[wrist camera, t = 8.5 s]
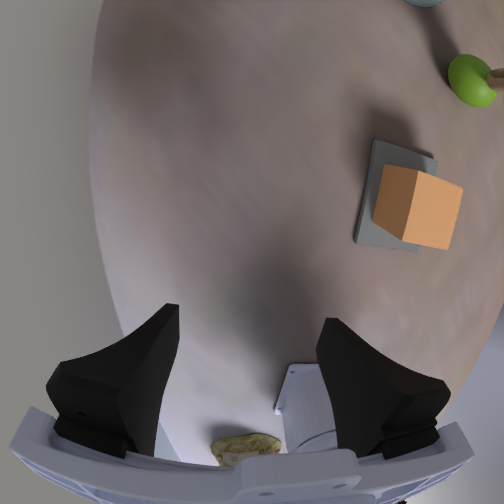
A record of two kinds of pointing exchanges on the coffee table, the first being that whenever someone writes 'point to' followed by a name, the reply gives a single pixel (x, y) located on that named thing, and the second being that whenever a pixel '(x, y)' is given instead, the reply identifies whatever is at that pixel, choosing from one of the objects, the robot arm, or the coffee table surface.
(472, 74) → the snail figurine
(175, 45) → the coffee table surface
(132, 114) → the coffee table surface
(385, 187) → the cube
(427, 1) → the teal cup
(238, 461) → the ceramic model
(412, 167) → the mat
